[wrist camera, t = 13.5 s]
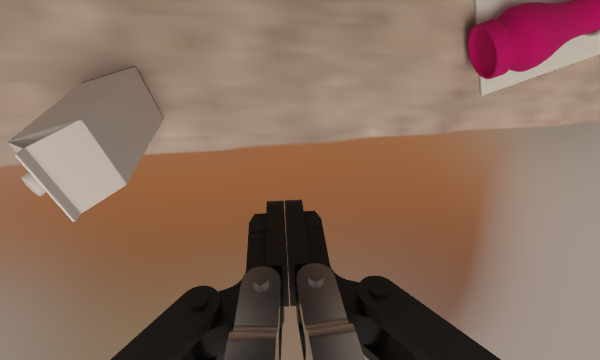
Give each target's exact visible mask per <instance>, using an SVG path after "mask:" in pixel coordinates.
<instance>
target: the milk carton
mask: <svg viewBox="0 0 600 360" xmlns="http://www.w3.org/2000/svg"><path fill="white" fill-rule="evenodd" d="M162 120H163V116H162V114H161V113H160V111H159V109H158V107H157V105H156V104H155V102H154V100H153V98H152V96H151V94H150V93H149V91H148V89H147V87H146V85H145V83H144V82H143V80H142V78H141V76H140V74H139V73H138V71H137V69H136V68H135V67H132V68H129V69H126V70H122V71H119V72H116V73H113V74H110V75H106V76H103V77H100V78H97V79H94V80H90V81H87V82H84V83H81V84H80V85H79V86H77V87H76V88H75V89H74V90H72V91H71V92H70V93H69V94H67V95H66V96H65V97H64V98H62V99H61V100H60V101H58V102H57V103H56V104H55V105H53V106H52V107H51V108H50V109H48V110H47V111H46V112H45V113H43V114H42V115H41V116H40V117H38V118H37V119H36V120H35V121H33V122H32V123H31V124H30V125H28V126H27V127H26V128H24V129H23V130H22V131H21V132H19V133H18V134H17V135H16V136H14V137H13V138H12V139H11V140H10V141H8V143H9V145H10V146H11V147H12V148H13V149H14V150H15V152H16V153H17V154H16V155H15V157H16V158H17V159H18V160H19V161H20V162H21V163H22V165H23V166H24V167H25V168H26V169H27V170H28V171H29V173H27V174H25V175H23V176H22V177H21V178H22V180H23V181H24V182H25V184H26V185H27V186H28V187H29V188H30V189H31V190H32V191H33V192H34V193H35V194H37V195H38V196H41V195H43V194H45V193H46V192H47V193H48V194H49V195H50V196H51V197H52V199H53V200H54V201H55V202H56V203H57V204H58V205H59V207H60V208H61V209H62V210H63V211H64V212H65V213H66V214H67V216H68V217H69V218H70V219H71V220H72V221H73V222H75V221H76V220H77V218H78V217H79V215H80V214H81V213H83V212H84V211H86V210H87V209H89V208H91V207H92V206H94V205H95V204H97V203H98V202H100V201H102V200H103V199H105V198H106V197H108V196H110V195H111V194H113V193H114V192H116V191H118V190H119V189H121V188H122V187H123V186H125V185H126V184H127V182H128V180H129V179H130V177H131V175H132V173H133V172H134V170H135V168H136V166H137V164H138V163H139V161H140V159H141V157H142V156H143V154H144V152H145V150H146V149H147V147H148V145H149V143H150V142H151V140H152V138H153V136H154V134H155V133H156V131H157V129H158V127H159V126H160V124H161V122H162Z"/></svg>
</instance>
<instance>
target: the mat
mask: <svg viewBox="0 0 600 360" xmlns="http://www.w3.org/2000/svg"><path fill="white" fill-rule="evenodd" d="M568 1H571V0H474V6H475V22H476V25H477V24H479V23H482V22H485V21H488V20H490V19H495V20H497V19H498V17H499V16H500V15H501V14H502V13H503V12H504V11H505V10H506V9H508V8H510V7H512V6H516V5H519V4H523V3H533V2H540V3H564V2H568ZM598 54H600V34H598V35H595V36H587V35H581V36H578V37H576V38H573V39H571V40H570V41H568V42H566V43H565V44H564V45H563V46H561V47H560V48H559V49H558V50H557V51H556V52H555V53H554V54H553V55H552V56H551V57H549V58H548V59H547V60H545V61H544V62H542V63H541V64H540V65H538V66H536V67H534V68H532V69H529V70H527V71H523V72H516V71H512V70H508V72H507V73H505V74H503V75H500V76H498V77H495V78H492V79H485V78H483V77H481V76H480V75H479V83H480V95H481V96H482V95H485V94H488V93H491V92H494V91H496V90H499V89H502V88H505V87H508V86H511V85H513V84H516V83H519V82H522V81H525V80H527V79H530V78H533V77H536V76H539V75H542V74H544V73H547V72H550V71H553V70H556V69H559V68H561V67H564V66H567V65H570V64H573V63H575V62H578V61H581V60H584V59H587V58H590V57H592V56H595V55H598Z"/></svg>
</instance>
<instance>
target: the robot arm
mask: <svg viewBox="0 0 600 360" xmlns="http://www.w3.org/2000/svg"><path fill="white" fill-rule="evenodd" d="M285 216H286V233H285V217H284V201H267V213H265V214H254V216H253V218H252V219H251V221H250V222H249V235H248V250H247V266H246V273H245V275H244V276H243V278H242V280H241V281H240V282H239V283H238V284H236V285H234V286H233V287H230V288H228V289H225V290H222V291H219V292H217V291H216V290H215V289H214V288H212V287H209V286H198V287H194V288H192V289H190V290H188V291H187V292H186V293H185V294H183V295H182V296H181V297H180V298H179V299H178V300H177V301H176V302H174V303H173V304H172V305H171V306H170V307H169V308H168V309H167V310H166V311H164V312H163V313H162V314H161V315H160V316H159V317H158V318H157V319H155V320H154V321H153V322H152V323H151V324H150V325H149V326H148V327H147V328H145V329H144V330H143V331H142V332H141V333H140V334H139V335H138V336H137V337H135V338H134V339H133V340H132V341H131V342H130V343H129V344H128V345H126V346H125V347H124V348H123V349H122V350H121V351H120V352H119V353H117V354H116V355H115V356H114V357H113V358H112V359H111V360H282V337H283V322H284V307H285V306H289V296H288V273H289V288H290V304H291V306H296V312H297V329H298V335H299V341H300V347H301V354H302V360H365V359H364V356H363V354H364V355H365V356H366V357H367V358H368V359H369V360H500V359H499V358H498V357H496V356H495V355H493V354H492V353H491V352H489V351H488V350H486V349H485V348H484V347H482V346H481V345H479V344H478V343H477V342H475V341H474V340H472V339H471V338H469V337H468V336H467V335H465V334H464V333H463V332H461V331H460V330H458V329H457V328H456V327H454V326H453V325H451V324H450V323H449V322H447V321H446V320H444V319H443V318H442V317H440V316H439V315H437V314H436V313H435V312H433V311H432V310H431V309H429V308H428V307H426V306H425V305H424V304H422V303H421V302H419V301H418V300H417V299H415V298H414V297H412V296H411V295H410V294H408V293H407V292H405V291H404V290H403V289H401V288H399V287H398V286H397V285H395V284H394V283H393V282H391V281H390V280H388V279H386V278H384V277H381V276H369V277H366V278H364V279H363V280H362V281H361V282H360V283H359V282H354V281H350V280H346V279H343V278H341V277H340V276H338V275H336V274H335V273H334V271H333V270H332V269H331V266H330V263H329V258H328V253H327V248H326V242H325V237H324V232H323V226H322V221H321V218H320V217H319V216H318V214H317V213H316V212H315V211H303V205H302V200H285ZM286 241H287V249H286ZM287 257H288V266H287Z"/></svg>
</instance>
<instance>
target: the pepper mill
mask: <svg viewBox="0 0 600 360" xmlns="http://www.w3.org/2000/svg"><path fill="white" fill-rule="evenodd" d="M598 34H600V0H571V1H568V2H564V3H540V2H533V3H523V4H519V5H516V6H512V7H510V8H508V9H506V10H505V11H504V12H503V13H502V14H501V15H500V16H499V17H498V19H497V20H495V19H490V20H488V21H485V22H482V23H479V24H477V25H475V26H474V27H473V28H472V29H471V31H470V34H469V38H468V51H469V57H470V60H471V63H472V65H473V67H474V69H475V70H476V72H477V73H478V74H479V75H480V76H481V77H483V78H485V79H492V78H495V77H498V76H500V75H503V74H505V73H507V72H508V70H512V71H516V72H523V71H527V70H529V69H532V68H534V67H536V66H538V65H540V64H541V63H542V62H544V61H545V60H547V59H548V58H549V57H551V56H552V55H553V54H554V53H555V52H556V51H557V50H558V49H559V48H560V47H561V46H563V45H564V44H565V43H566V42H568V41H570V40H571V39H573V38H576V37H578V36H581V35H587V36H595V35H598Z"/></svg>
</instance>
